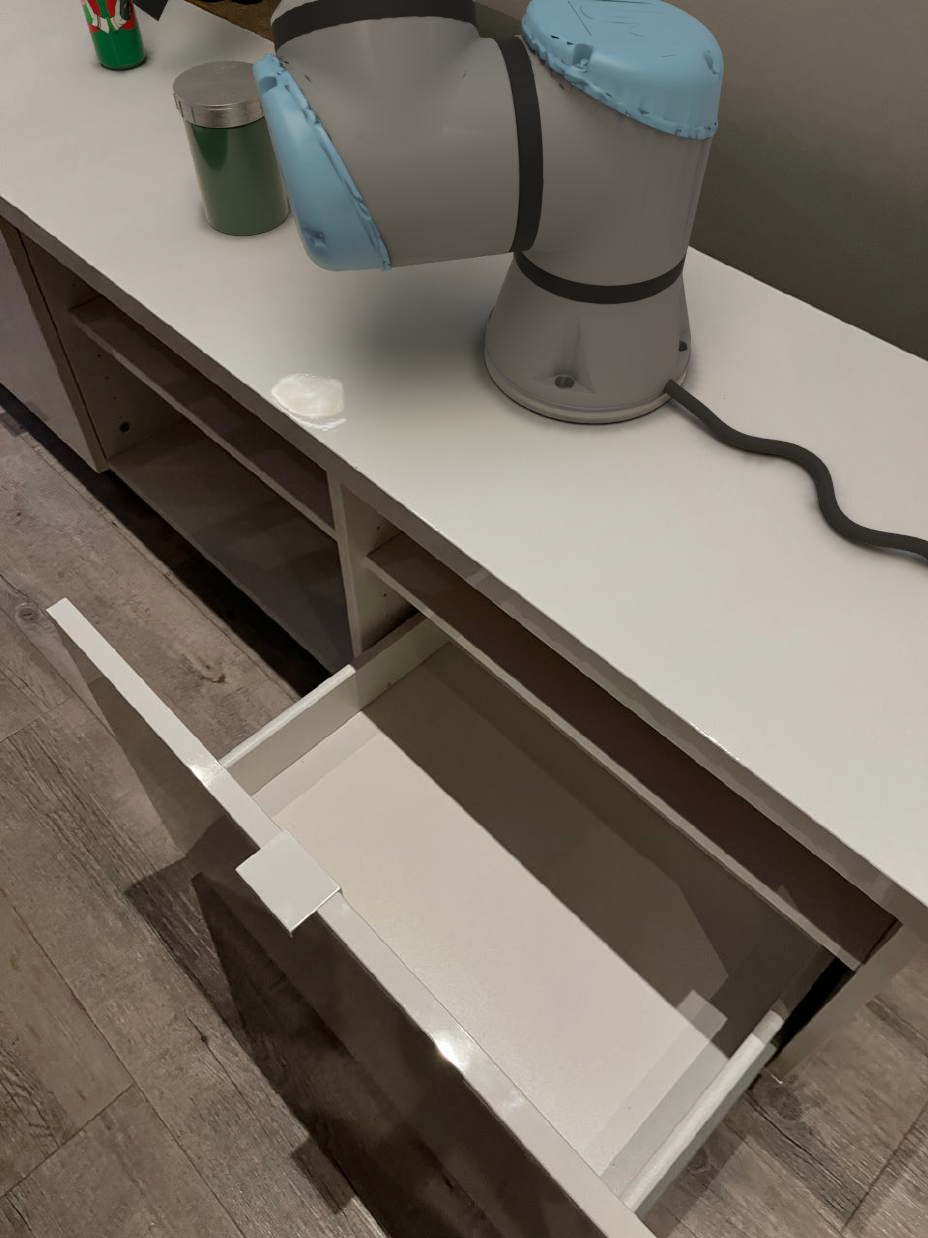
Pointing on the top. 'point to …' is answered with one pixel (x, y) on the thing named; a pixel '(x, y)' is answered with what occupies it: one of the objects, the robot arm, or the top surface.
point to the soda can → (115, 32)
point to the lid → (218, 94)
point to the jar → (238, 177)
